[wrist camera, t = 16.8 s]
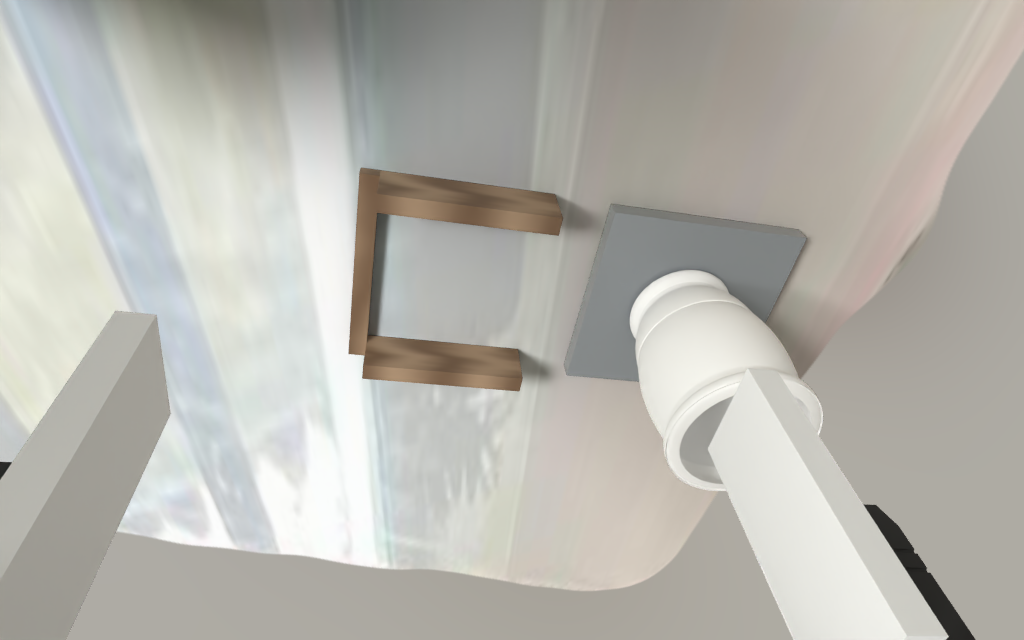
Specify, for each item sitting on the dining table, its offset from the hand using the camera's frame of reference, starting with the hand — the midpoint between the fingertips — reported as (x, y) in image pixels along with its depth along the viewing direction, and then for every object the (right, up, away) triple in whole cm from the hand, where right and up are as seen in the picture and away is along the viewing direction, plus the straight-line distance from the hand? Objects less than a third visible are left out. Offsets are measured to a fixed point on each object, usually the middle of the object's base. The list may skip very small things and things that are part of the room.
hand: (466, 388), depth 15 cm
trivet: (+15, +3, +42) cm, 45 cm away
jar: (+15, +2, +41) cm, 44 cm away
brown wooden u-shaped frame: (-4, +5, +39) cm, 39 cm away
